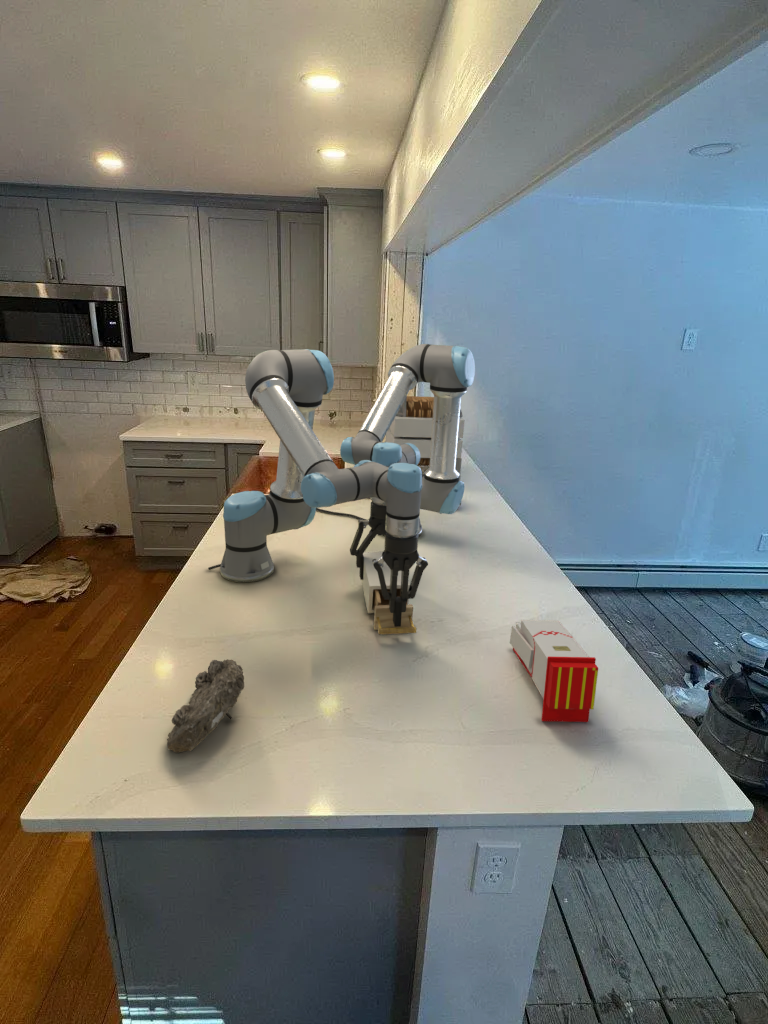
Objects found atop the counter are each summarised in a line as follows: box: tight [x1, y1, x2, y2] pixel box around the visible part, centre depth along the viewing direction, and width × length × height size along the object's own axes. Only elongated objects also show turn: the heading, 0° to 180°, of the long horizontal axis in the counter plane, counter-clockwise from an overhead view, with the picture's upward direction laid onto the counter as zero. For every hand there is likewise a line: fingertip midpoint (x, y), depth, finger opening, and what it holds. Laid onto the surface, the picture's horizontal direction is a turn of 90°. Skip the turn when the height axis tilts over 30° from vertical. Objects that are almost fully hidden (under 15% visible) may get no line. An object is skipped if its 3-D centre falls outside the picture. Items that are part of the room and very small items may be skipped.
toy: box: [509, 619, 599, 723], centre depth 122 cm, size 12×13×30 cm
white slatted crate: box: [384, 395, 465, 481], centre depth 268 cm, size 34×33×41 cm
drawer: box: [373, 589, 417, 635], centre depth 143 cm, size 21×9×6 cm, turn 9°
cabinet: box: [360, 551, 411, 614], centre depth 153 cm, size 17×10×9 cm, turn 9°
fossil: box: [166, 658, 245, 754], centre depth 106 cm, size 22×10×15 cm
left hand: (396, 623), depth 136 cm, fingers closed
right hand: (381, 577), depth 158 cm, fingers closed on cabinet, 10 cm apart
